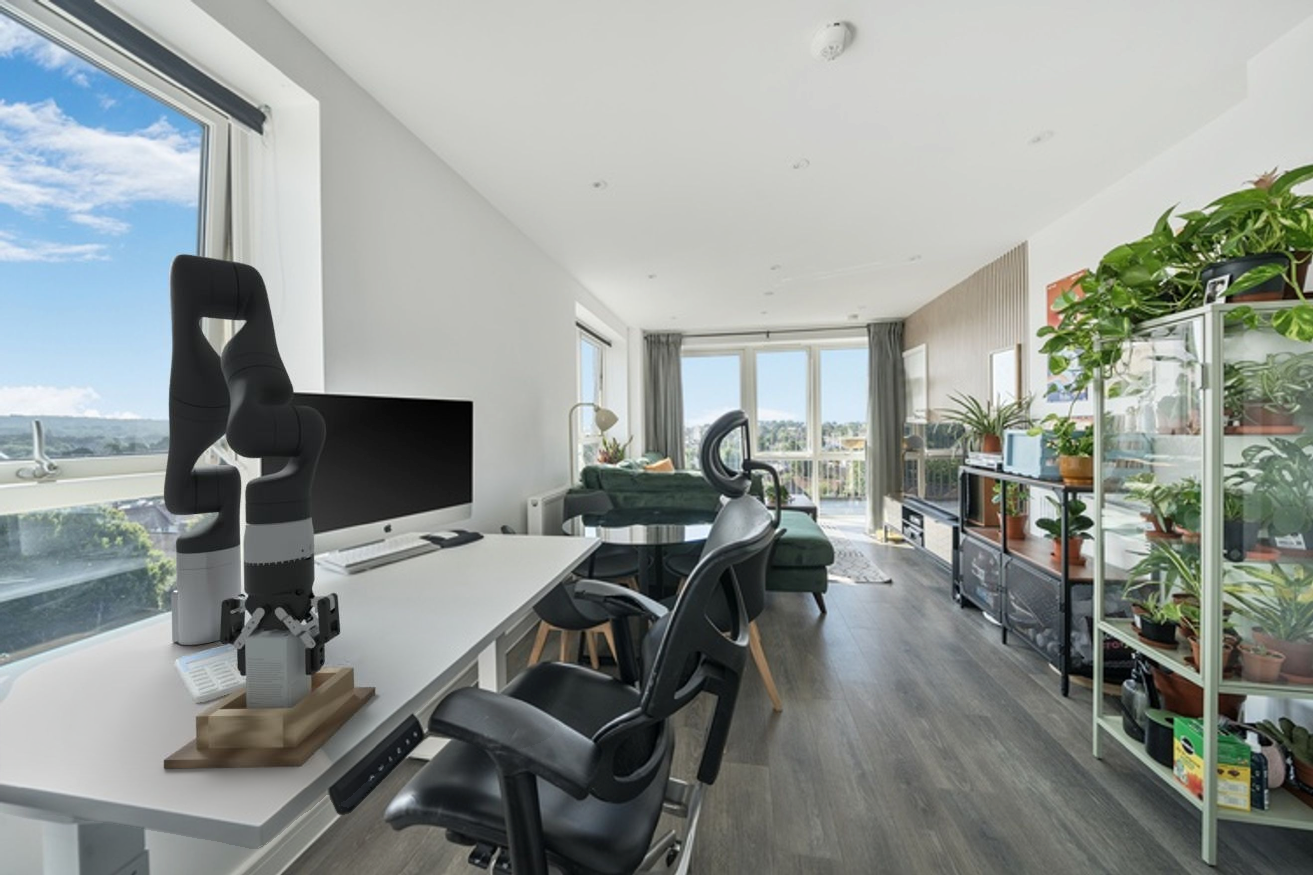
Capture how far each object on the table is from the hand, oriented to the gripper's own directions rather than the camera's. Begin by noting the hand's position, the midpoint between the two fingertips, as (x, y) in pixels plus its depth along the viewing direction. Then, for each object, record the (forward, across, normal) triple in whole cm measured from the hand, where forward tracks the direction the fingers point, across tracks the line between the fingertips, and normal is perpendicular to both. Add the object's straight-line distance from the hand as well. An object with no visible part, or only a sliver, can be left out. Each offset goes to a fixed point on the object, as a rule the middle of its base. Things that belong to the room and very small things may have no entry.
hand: (281, 672), depth 66 cm
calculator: (+8, -20, +17) cm, 27 cm away
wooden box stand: (+7, 0, 0) cm, 7 cm away
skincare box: (+6, 0, 0) cm, 7 cm away
